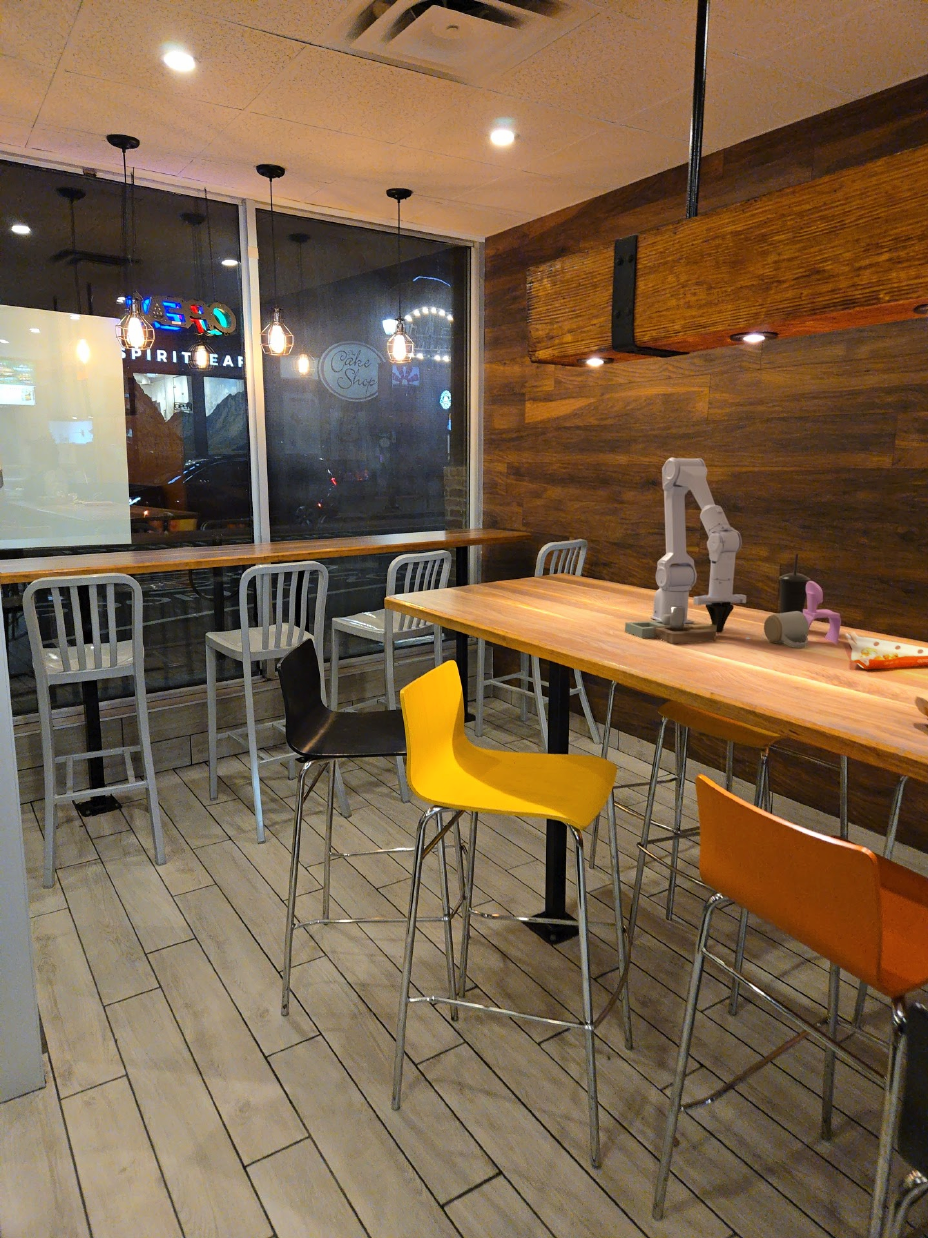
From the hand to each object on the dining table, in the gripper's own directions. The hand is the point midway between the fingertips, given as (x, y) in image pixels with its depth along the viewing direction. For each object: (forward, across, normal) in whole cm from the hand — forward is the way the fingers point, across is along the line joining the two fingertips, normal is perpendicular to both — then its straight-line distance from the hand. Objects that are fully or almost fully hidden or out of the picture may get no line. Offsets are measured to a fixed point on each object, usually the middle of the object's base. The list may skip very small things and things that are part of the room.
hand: (717, 631), depth 212 cm
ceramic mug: (+1, +12, -12) cm, 17 cm away
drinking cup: (+1, +25, +2) cm, 25 cm away
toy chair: (+1, +21, -12) cm, 24 cm away
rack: (+1, -13, +7) cm, 15 cm away
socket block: (+1, -10, 0) cm, 11 cm away
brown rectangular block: (+1, -5, 0) cm, 5 cm away
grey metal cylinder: (+1, -12, 0) cm, 12 cm away
